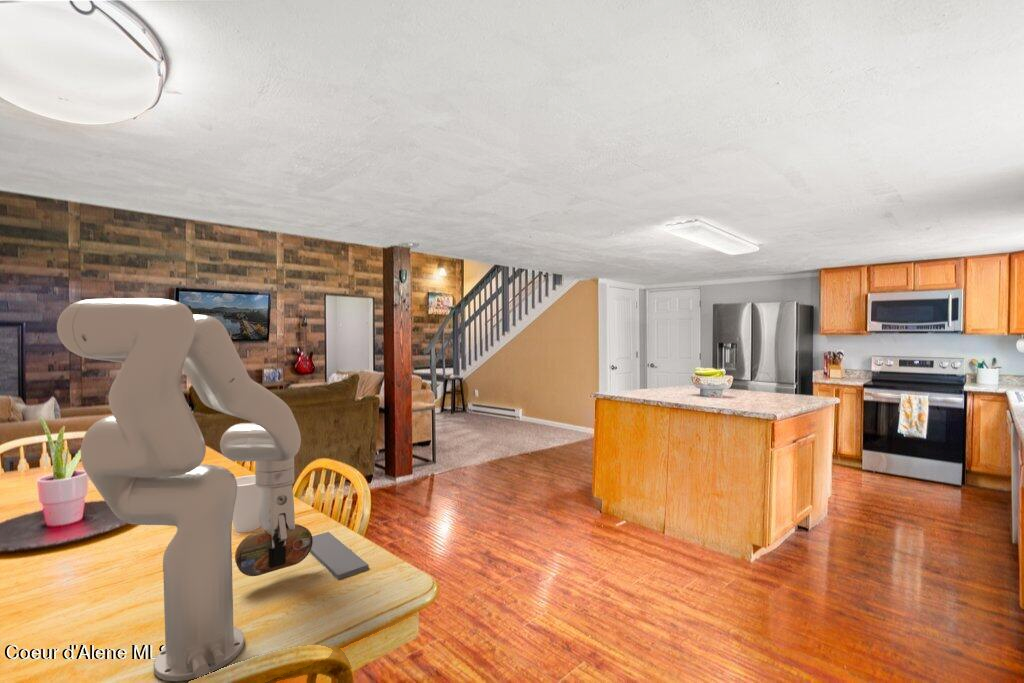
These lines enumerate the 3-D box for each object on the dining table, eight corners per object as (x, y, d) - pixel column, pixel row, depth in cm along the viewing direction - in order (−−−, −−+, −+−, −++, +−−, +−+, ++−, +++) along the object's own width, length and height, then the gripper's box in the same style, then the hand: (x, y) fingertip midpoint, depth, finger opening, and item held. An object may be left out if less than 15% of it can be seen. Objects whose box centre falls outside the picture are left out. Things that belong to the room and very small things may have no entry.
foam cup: (274, 524, 136) (273, 477, 135) (243, 537, 127) (242, 487, 127) (251, 518, 140) (250, 473, 139) (219, 531, 131) (218, 483, 131)
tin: (236, 582, 99) (237, 540, 98) (233, 576, 101) (233, 535, 101) (313, 560, 108) (313, 522, 108) (308, 555, 111) (308, 518, 111)
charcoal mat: (368, 569, 110) (368, 564, 110) (337, 579, 105) (337, 575, 105) (328, 535, 128) (328, 531, 128) (300, 543, 123) (300, 539, 123)
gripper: (306, 480, 101) (305, 570, 101) (282, 467, 113) (282, 547, 113) (266, 487, 96) (266, 582, 96) (246, 472, 108) (245, 556, 108)
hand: (274, 562), depth 105 cm, fingers closed on tin, 2 cm apart
